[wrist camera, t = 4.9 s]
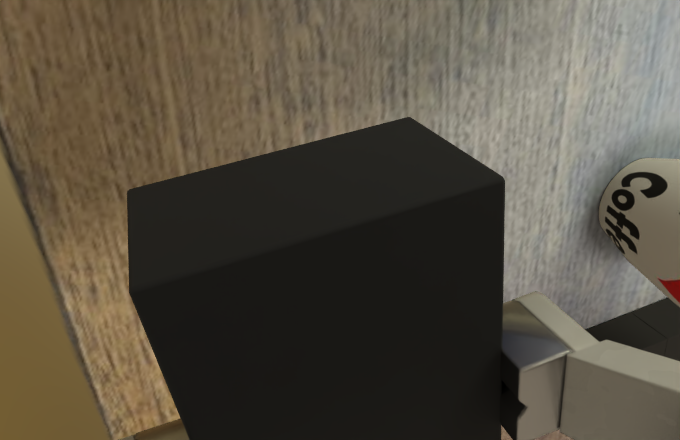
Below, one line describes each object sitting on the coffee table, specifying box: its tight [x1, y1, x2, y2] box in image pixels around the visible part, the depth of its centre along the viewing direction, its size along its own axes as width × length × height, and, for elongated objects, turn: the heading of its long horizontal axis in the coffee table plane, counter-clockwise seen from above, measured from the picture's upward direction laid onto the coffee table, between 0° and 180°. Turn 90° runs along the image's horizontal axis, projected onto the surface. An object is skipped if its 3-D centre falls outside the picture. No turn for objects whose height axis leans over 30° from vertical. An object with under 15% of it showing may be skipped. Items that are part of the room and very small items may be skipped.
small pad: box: [127, 117, 505, 440], centre depth 10 cm, size 8×5×3 cm, turn 9°
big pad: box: [586, 298, 680, 361], centre depth 41 cm, size 18×14×3 cm
